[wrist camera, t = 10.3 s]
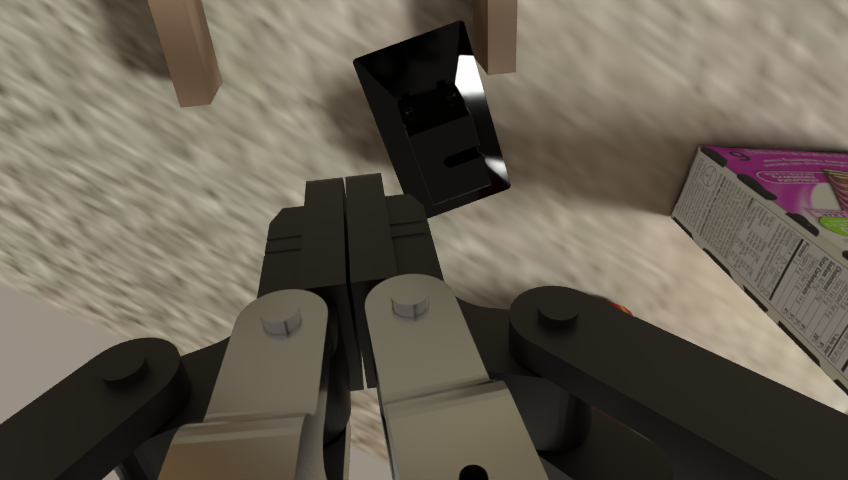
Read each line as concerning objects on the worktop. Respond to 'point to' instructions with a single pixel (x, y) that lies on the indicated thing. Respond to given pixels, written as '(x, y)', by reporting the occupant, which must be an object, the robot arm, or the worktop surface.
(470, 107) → the black block
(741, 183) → the candy bar box
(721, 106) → the worktop surface
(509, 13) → the walnut lane
